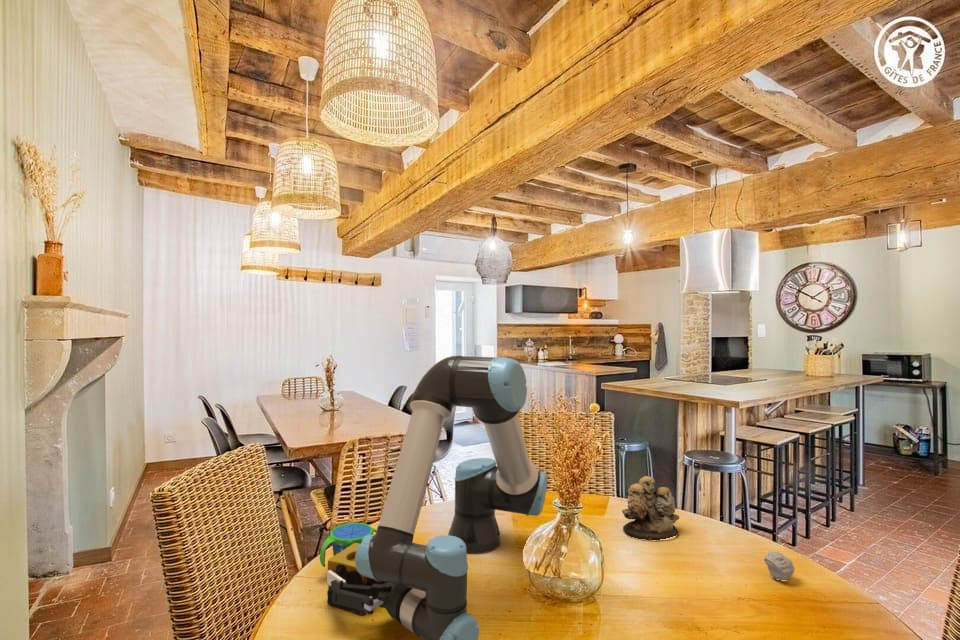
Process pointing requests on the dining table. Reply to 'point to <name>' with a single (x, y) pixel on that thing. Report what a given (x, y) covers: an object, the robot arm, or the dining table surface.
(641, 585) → the dining table surface
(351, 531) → the snack cup
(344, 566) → the candle
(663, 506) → the owl figurine
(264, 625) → the dining table surface
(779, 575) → the grey rounded lump
